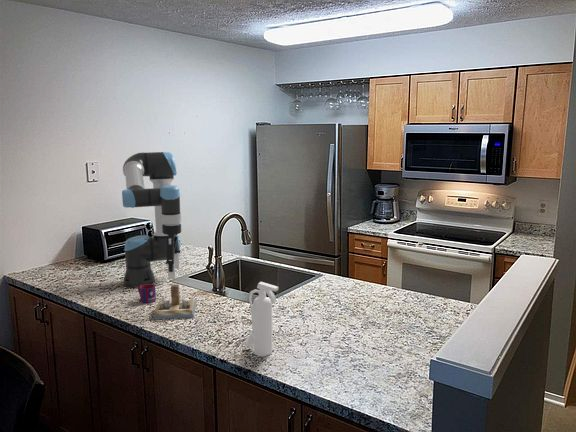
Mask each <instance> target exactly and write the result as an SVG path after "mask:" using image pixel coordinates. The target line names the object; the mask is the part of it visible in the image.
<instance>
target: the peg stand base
mask: <svg viewBox="0 0 576 432" xmlns="http://www.w3.org/2000/svg"><path fill="white" fill-rule="evenodd" d="M170 298H171V300H170V302H169V303H168V308H169V310H163V309H164V303H162V301H160V300H159V301H158V302H157V304H156V308H155V310H154V314H155V316H166V315H187V314H193V310H194V305H195V300H196V299H189V302H187V305H188V309H183V306H184V303H183V302H182V299H181V298H180V284H176V283H175V284H171V285H170ZM180 299H181V300H180Z"/></svg>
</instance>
